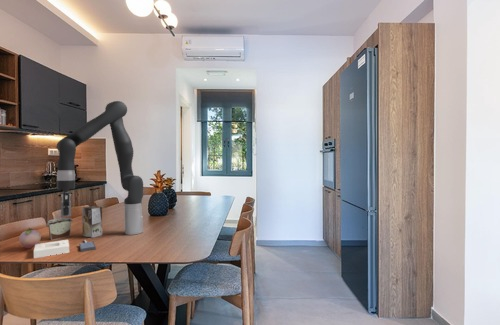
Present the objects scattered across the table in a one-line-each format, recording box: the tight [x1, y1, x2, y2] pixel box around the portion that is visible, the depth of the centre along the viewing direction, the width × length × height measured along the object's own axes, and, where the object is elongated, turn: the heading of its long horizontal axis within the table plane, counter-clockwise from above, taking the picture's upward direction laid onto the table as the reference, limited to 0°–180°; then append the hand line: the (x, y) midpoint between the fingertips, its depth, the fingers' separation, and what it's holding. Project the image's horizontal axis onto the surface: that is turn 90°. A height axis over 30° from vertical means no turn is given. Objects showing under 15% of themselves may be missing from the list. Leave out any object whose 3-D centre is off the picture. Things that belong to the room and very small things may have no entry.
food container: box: [46, 217, 73, 241], centre depth 156 cm, size 12×6×10 cm, turn 149°
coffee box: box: [81, 205, 103, 239], centre depth 159 cm, size 9×6×16 cm
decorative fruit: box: [18, 227, 42, 249], centre depth 137 cm, size 9×8×10 cm
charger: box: [60, 200, 72, 218], centre depth 139 cm, size 4×4×7 cm
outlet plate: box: [33, 239, 70, 259], centre depth 132 cm, size 13×13×3 cm
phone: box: [78, 239, 97, 253], centre depth 141 cm, size 6×19×1 cm, turn 35°
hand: (66, 214), depth 139 cm, fingers closed on charger, 4 cm apart
